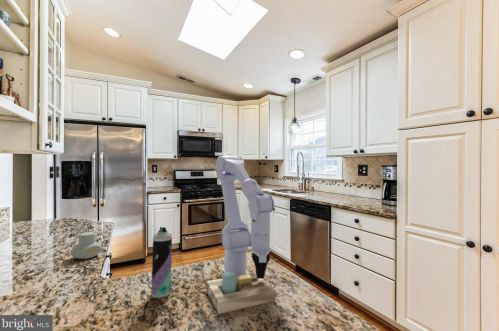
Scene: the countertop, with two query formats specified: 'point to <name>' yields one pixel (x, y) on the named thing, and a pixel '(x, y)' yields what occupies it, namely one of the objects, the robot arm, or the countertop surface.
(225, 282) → the teal peg
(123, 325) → the countertop surface
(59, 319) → the countertop surface
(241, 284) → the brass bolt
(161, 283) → the spray can
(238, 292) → the dock plate
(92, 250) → the air freshener
